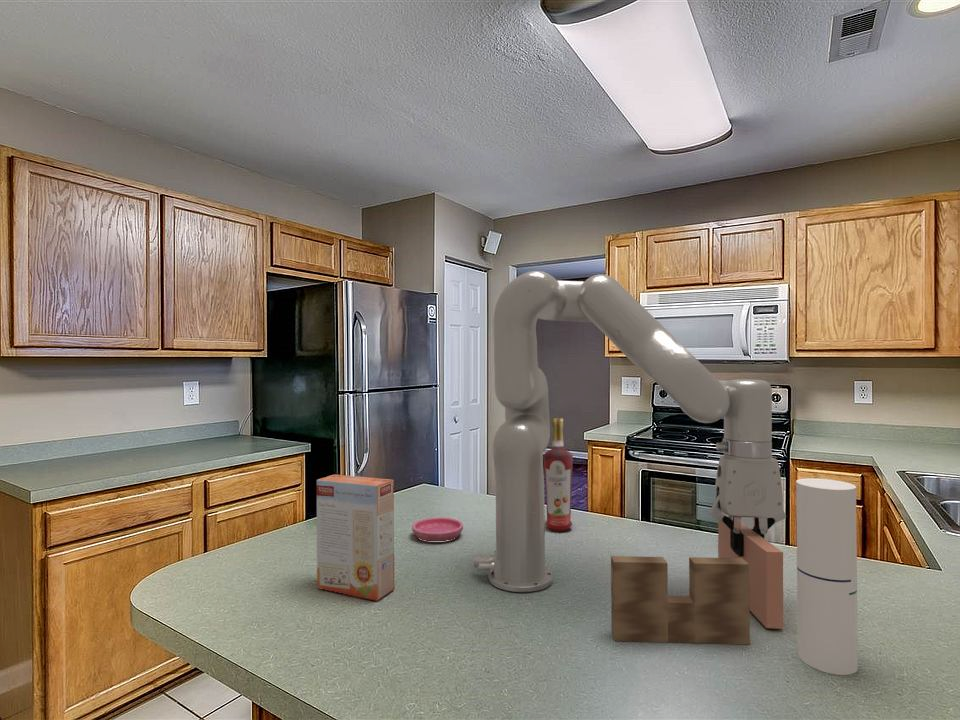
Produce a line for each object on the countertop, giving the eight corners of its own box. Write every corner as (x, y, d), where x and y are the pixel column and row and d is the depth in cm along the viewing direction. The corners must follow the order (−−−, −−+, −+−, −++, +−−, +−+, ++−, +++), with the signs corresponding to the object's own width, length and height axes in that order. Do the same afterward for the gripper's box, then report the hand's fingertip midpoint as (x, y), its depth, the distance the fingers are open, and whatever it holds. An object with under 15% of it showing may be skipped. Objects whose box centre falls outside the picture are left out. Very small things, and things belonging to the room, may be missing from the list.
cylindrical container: (786, 648, 79) (784, 478, 79) (832, 645, 79) (830, 477, 79) (821, 676, 72) (819, 490, 72) (871, 673, 72) (869, 489, 72)
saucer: (468, 542, 126) (468, 529, 126) (416, 548, 123) (416, 534, 123) (456, 527, 138) (456, 515, 138) (408, 531, 135) (408, 519, 135)
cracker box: (396, 589, 100) (395, 478, 100) (377, 603, 95) (376, 485, 95) (337, 577, 106) (336, 472, 106) (315, 589, 100) (315, 478, 101)
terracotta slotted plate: (783, 628, 84) (783, 552, 84) (766, 628, 84) (766, 551, 84) (731, 577, 104) (731, 515, 104) (718, 576, 104) (718, 515, 104)
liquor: (574, 525, 138) (573, 417, 138) (572, 534, 131) (571, 420, 131) (545, 523, 140) (545, 417, 140) (542, 532, 133) (541, 420, 133)
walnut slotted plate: (614, 640, 81) (613, 562, 81) (611, 632, 84) (610, 556, 84) (749, 644, 80) (749, 564, 80) (742, 635, 82) (742, 558, 82)
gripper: (708, 452, 91) (707, 561, 91) (806, 454, 89) (806, 563, 89) (693, 445, 98) (693, 545, 98) (784, 446, 97) (783, 547, 97)
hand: (747, 553), depth 94 cm, fingers closed on terracotta slotted plate, 2 cm apart
